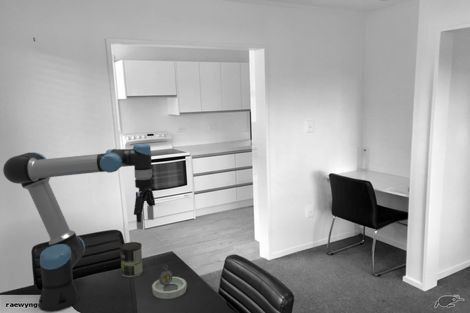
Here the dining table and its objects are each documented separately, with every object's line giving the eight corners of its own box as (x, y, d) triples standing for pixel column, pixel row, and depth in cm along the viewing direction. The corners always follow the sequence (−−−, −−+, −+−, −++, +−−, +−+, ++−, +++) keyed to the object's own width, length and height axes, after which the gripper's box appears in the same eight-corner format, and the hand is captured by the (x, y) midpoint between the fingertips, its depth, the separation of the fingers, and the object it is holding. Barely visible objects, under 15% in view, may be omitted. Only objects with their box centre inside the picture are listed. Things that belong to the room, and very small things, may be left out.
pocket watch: (174, 293, 160) (173, 272, 159) (156, 291, 162) (155, 270, 161) (181, 285, 168) (180, 264, 167) (164, 283, 170) (163, 262, 169)
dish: (147, 298, 159) (147, 291, 158) (158, 282, 173) (158, 276, 173) (181, 300, 157) (181, 293, 156) (189, 283, 171) (189, 277, 171)
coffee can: (123, 279, 177) (122, 251, 175) (119, 271, 186) (118, 244, 184) (145, 274, 181) (143, 247, 180) (140, 266, 190) (138, 240, 189)
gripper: (141, 184, 153) (143, 233, 156) (160, 173, 177) (162, 216, 180) (124, 184, 154) (126, 232, 157) (145, 173, 178) (147, 215, 181)
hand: (145, 224), depth 168 cm, fingers open, 13 cm apart
